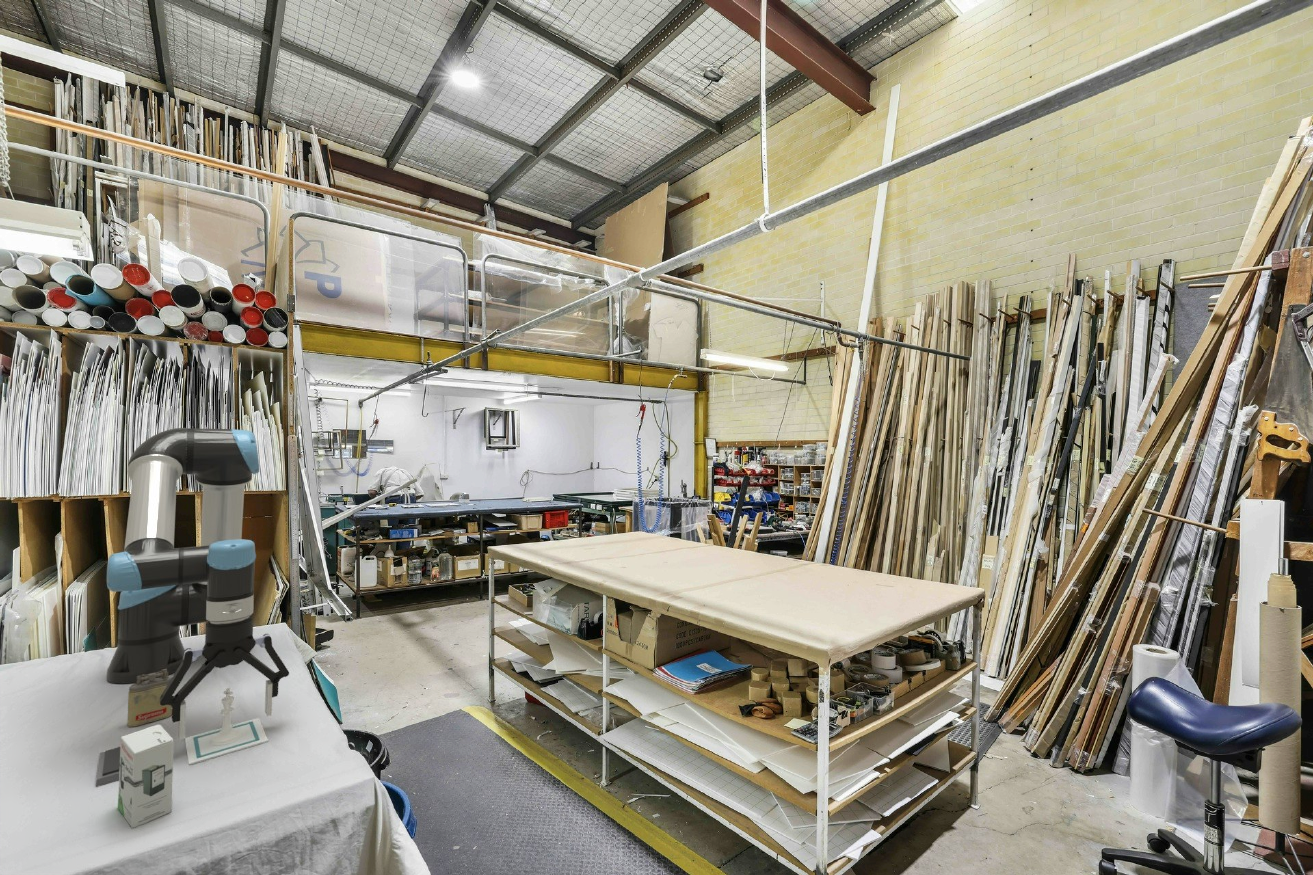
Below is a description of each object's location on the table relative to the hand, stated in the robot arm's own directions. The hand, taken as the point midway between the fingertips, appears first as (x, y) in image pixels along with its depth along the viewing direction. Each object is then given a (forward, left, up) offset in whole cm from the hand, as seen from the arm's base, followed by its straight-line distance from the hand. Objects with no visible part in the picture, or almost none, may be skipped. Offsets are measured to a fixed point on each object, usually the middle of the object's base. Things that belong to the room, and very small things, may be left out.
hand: (226, 724), depth 108 cm
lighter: (-21, -11, -3) cm, 24 cm away
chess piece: (0, 0, -3) cm, 3 cm away
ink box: (+17, -12, -3) cm, 21 cm away
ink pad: (-2, -14, -3) cm, 14 cm away
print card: (0, 0, -3) cm, 3 cm away
